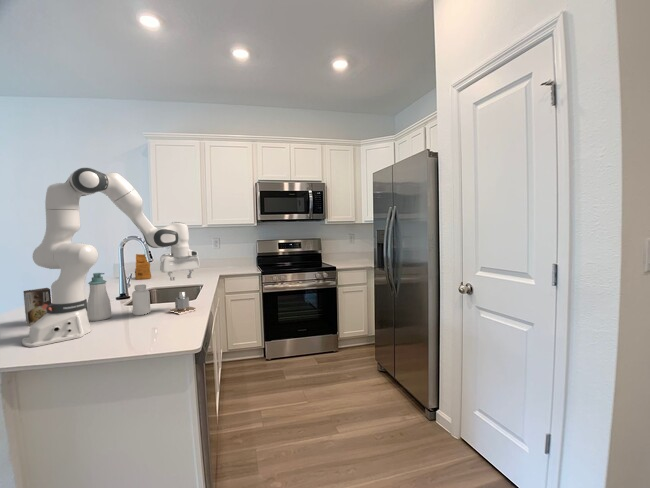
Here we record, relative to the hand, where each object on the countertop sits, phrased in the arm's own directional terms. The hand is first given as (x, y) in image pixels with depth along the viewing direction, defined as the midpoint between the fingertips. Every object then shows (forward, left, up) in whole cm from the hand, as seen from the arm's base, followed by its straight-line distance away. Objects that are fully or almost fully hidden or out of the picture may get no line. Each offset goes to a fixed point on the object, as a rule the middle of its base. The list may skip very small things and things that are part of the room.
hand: (181, 279), depth 168 cm
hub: (0, +1, -15) cm, 15 cm away
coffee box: (-49, +42, -18) cm, 67 cm away
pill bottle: (-14, +15, -18) cm, 27 cm away
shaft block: (0, 0, -17) cm, 17 cm away
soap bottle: (-30, +24, -18) cm, 42 cm away
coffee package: (+41, +134, -18) cm, 142 cm away
